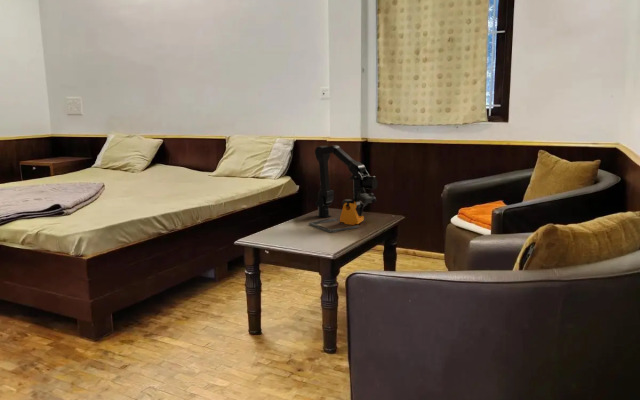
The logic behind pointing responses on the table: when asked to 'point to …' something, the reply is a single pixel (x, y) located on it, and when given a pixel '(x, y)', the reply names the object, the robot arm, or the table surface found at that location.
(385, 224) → the table surface
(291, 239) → the table surface
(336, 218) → the rail bay
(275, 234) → the table surface
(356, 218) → the bracket
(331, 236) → the table surface
